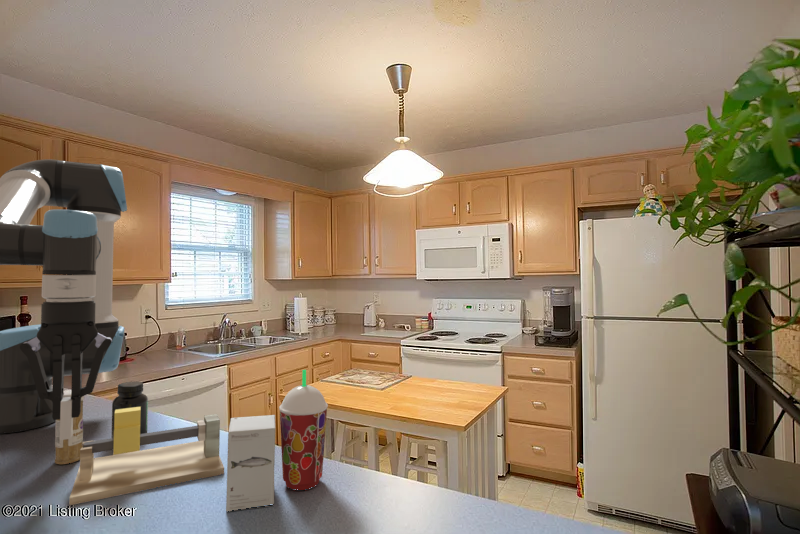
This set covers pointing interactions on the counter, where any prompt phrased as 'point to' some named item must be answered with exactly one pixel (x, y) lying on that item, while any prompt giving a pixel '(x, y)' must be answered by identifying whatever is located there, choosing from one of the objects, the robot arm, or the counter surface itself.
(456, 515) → the counter surface
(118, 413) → the sleeve
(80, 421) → the sprinkles bottle
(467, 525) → the counter surface
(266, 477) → the supplement box
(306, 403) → the smoothie
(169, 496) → the counter surface
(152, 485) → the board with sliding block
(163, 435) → the gray square bar
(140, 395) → the supplement bottle
